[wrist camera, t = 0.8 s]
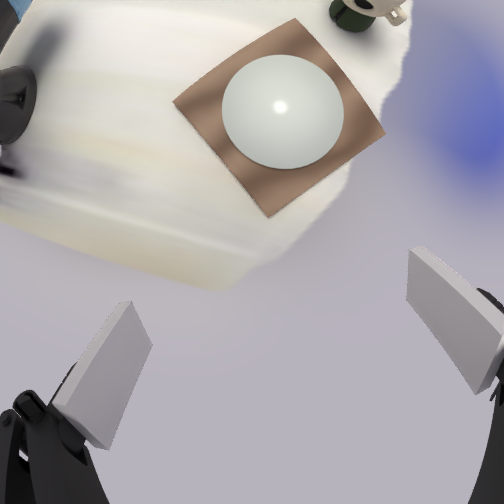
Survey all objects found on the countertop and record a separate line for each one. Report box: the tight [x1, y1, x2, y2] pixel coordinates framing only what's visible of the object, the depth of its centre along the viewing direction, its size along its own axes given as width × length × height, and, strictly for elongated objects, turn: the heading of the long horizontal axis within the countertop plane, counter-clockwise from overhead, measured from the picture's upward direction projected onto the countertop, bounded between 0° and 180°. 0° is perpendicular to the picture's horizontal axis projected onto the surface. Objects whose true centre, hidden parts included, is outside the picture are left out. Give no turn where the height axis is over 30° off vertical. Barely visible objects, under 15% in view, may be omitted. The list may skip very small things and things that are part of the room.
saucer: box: [222, 55, 344, 169], centre depth 30 cm, size 15×15×1 cm
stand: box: [172, 18, 386, 218], centre depth 32 cm, size 20×20×2 cm
